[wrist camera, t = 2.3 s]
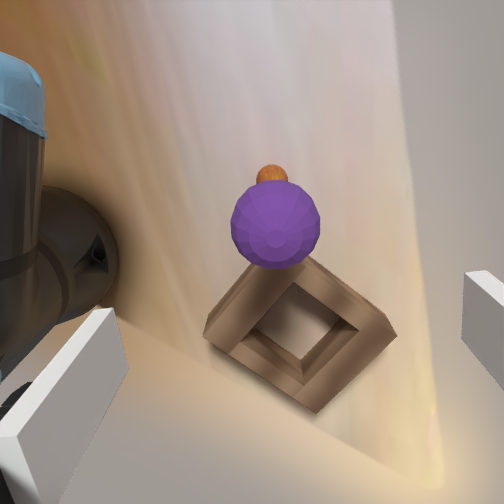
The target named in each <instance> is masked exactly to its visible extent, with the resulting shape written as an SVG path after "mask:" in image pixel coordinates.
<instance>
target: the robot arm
mask: <svg viewBox="0 0 504 504" xmlns="http://www.w3.org/2000/svg"><path fill="white" fill-rule="evenodd" d="M45 139H48V133H47V131H46V130H45V88H44V84H43V81H42V79H41V77H40V76H39V74H38V73H37V72H36V70H35V69H34V68H32V67H31V66H30V65H29V64H28V63H26V62H24V61H23V60H20V59H18V58H16V57H13V56H11V55H8V54H6V53H3V52H0V384H1V382H2V381H3V380H4V379H5V378H6V377H7V376H8V375H9V374H10V373H11V372H12V371H13V370H14V369H15V368H16V366H17V365H18V364H19V363H20V362H21V361H22V360H23V359H24V358H25V357H26V356H27V355H28V354H29V353H30V351H31V350H32V349H33V348H34V347H35V346H36V345H37V344H38V343H39V342H40V341H41V340H42V339H43V337H44V336H45V335H46V334H47V333H48V332H49V331H50V330H51V329H52V328H53V327H54V326H55V325H58V324H60V323H63V322H66V321H68V320H71V319H74V318H76V317H78V316H81V315H83V314H85V313H86V312H88V311H89V310H91V309H92V308H93V307H95V306H96V305H97V304H98V303H99V302H100V301H101V299H102V298H103V297H104V296H105V295H106V293H107V292H108V291H109V289H110V288H111V286H112V284H113V282H114V280H115V277H116V273H117V267H118V253H117V247H116V243H115V240H114V237H113V235H112V233H111V230H110V229H109V227H108V225H107V223H106V222H105V221H104V219H103V218H102V217H101V215H100V214H99V213H98V212H97V211H96V210H95V209H94V208H93V207H92V206H91V205H90V204H88V203H87V202H86V201H84V200H83V199H81V198H80V197H78V196H76V195H74V194H72V193H70V192H68V191H65V190H62V189H59V188H55V187H50V186H42V181H43V165H44V149H45ZM461 339H462V340H463V341H464V343H465V344H466V345H467V346H468V347H469V349H470V350H471V351H472V352H473V354H474V355H475V356H476V357H477V358H478V360H479V361H480V362H481V363H482V365H483V366H484V367H485V368H486V369H487V371H488V372H489V373H490V374H491V376H492V377H493V378H494V379H495V380H496V382H497V383H498V384H499V385H500V387H501V388H502V389H503V390H504V284H503V283H502V282H501V281H499V280H498V279H496V278H495V277H494V276H493V275H491V274H490V273H489V272H488V271H475V272H466V273H464V290H463V315H462V338H461ZM128 369H129V366H128V362H127V358H126V355H125V351H124V347H123V344H122V339H121V336H120V332H119V328H118V324H117V321H116V316H115V312H114V309H113V308H105V309H95V310H93V312H92V313H91V314H90V315H89V316H88V317H87V319H86V320H85V321H84V322H83V323H82V325H81V326H80V327H79V328H78V329H77V331H76V332H75V333H74V334H73V335H72V336H71V338H70V339H69V340H68V341H67V342H66V344H65V345H64V346H63V347H62V349H61V350H60V351H59V352H58V353H57V354H56V355H55V357H54V358H53V359H52V360H51V362H50V363H49V364H48V365H47V366H46V368H45V369H44V370H43V371H42V372H41V373H40V375H39V376H38V377H37V378H36V379H35V381H34V382H27V383H26V384H24V385H23V386H21V387H20V388H19V389H17V390H16V391H14V392H13V393H12V394H11V395H10V396H9V397H8V398H7V399H6V401H5V402H4V403H3V404H2V407H0V504H58V503H59V501H60V499H61V497H62V496H63V494H64V492H65V490H66V488H67V486H68V484H69V482H70V480H71V478H72V476H73V475H74V472H75V471H76V469H77V467H78V465H79V463H80V461H81V459H82V457H83V455H84V454H85V451H86V450H87V448H88V446H89V444H90V442H91V440H92V438H93V436H94V434H95V432H96V430H97V429H98V427H99V425H100V423H101V421H102V419H103V417H104V415H105V413H106V411H107V410H108V408H109V406H110V404H111V402H112V400H113V398H114V396H115V394H116V392H117V390H118V388H119V387H120V385H121V383H122V381H123V379H124V377H125V375H126V373H127V371H128Z"/></svg>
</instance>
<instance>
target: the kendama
mask: <svg viewBox="0 0 504 504" xmlns="http://www.w3.org/2000/svg"><path fill="white" fill-rule="evenodd" d="M256 182H257V184H256V185H254V186H252V187H250V188H248V190H247V191H246V192H245V193H244V194H243V195H242V196H241V197H240V198H239V199H238V200H237V203H236V206H235V209H234V212H233V215H232V218H231V235H232V239H233V241H234V243H235V245H236V247H237V249H238V251H239V253H240V254H241V255H243V256H244V257H245V258H246V259H247V260H248V261H250V262H251V263H252V264H255V265H257V266H260V267H263V268H266V269H285V268H288V267H290V266H293V265H295V264H297V263H300V262H301V261H302V260H304V259H305V258H306V257H307V256H308V255H309V254H310V253H311V252H312V251H313V249H314V247H315V245H316V242H317V240H318V238H319V236H320V216H319V214H318V211H317V209H316V207H315V204H314V202H313V200H312V198H311V197H310V196H309V195H308V194H307V193H306V192H305V191H304V190H303V189H302V188H301V187H300V186H298V185H295V184H293V183H290V182H288V177H287V174H286V172H285V171H284V170H283V169H282V168H281V167H279V166H276V165H268V166H265V167H263V168H262V169H261V170H260V171H259V172H258V175H257V178H256Z"/></svg>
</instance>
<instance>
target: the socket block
mask: <svg viewBox="0 0 504 504" xmlns="http://www.w3.org/2000/svg"><path fill="white" fill-rule="evenodd" d="M293 282H295V283H296V284H297V285H299V286H300V287H301V288H303V289H304V290H305V291H307V292H308V293H309V294H311V295H312V296H313V297H315V298H316V299H317V300H319V301H320V302H322V303H323V304H324V305H326V306H327V307H328V308H330V309H331V310H332V311H334V312H335V313H336V314H338V315H339V316H340V317H342V318H341V319H340V320H339V321H338V322H337V323H336V324H335V325H334V327H333V328H332V329H331V330H330V331H329V332H328V333H327V334H326V335H325V336H324V337H323V338H322V339H321V340H320V341H319V342H318V343H317V344H316V345H315V346H314V347H313V348H312V349H311V350H310V351H309V352H308V353H307V354H306V355H305V356H304V357H303V358H302V360H300V359H298V358H297V357H295V356H294V355H292V354H291V353H290V352H288V351H287V350H285V349H284V348H282V347H281V346H280V345H278V344H277V343H275V342H274V341H272V340H271V339H270V338H268V337H267V336H265V335H264V334H262V333H261V332H260V331H258V330H257V329H255V328H254V327H253V326H254V325H255V324H256V323H257V322H258V321H259V320H260V319H261V317H262V316H263V315H264V314H265V313H266V312H267V311H268V310H269V309H270V307H271V306H272V305H273V304H274V303H275V302H276V301H277V300H278V298H279V297H280V296H281V295H282V294H283V293H284V292H285V291H286V289H287V288H288V287H289V286H290V285H291V284H292V283H293ZM203 337H204V338H205V339H207V340H208V341H210V342H211V343H213V344H214V345H216V346H217V347H218V348H220V349H221V350H223V351H224V352H226V353H227V354H229V355H230V356H232V357H233V358H235V359H236V360H238V361H239V362H241V363H242V364H244V365H245V366H246V367H248V368H249V369H251V370H252V371H254V372H255V373H257V374H258V375H260V376H261V377H263V378H264V379H266V380H267V381H269V382H270V383H272V384H273V385H275V386H276V387H277V388H279V389H280V390H282V391H283V392H285V393H286V394H288V395H289V396H291V397H292V398H294V399H295V400H297V401H298V402H300V403H301V404H303V405H304V406H306V407H307V408H308V409H310V410H311V411H313V412H314V413H316V414H317V413H318V412H319V411H320V410H321V409H322V408H323V407H324V406H325V405H326V404H327V403H328V402H329V401H330V400H331V399H332V398H333V397H334V396H335V395H337V394H338V393H339V392H340V391H341V390H342V389H343V388H344V387H345V386H346V385H347V384H348V383H349V382H350V381H351V380H352V379H353V378H354V377H355V376H356V375H357V374H358V373H359V372H360V371H362V370H363V369H364V368H365V367H366V366H367V365H368V364H369V363H370V362H371V361H372V360H373V359H374V358H375V357H376V356H377V355H378V354H379V353H380V352H381V351H382V350H383V349H384V348H385V347H386V346H388V345H389V344H390V343H391V342H392V341H393V340H394V339H395V338H396V337H397V335H396V333H395V331H394V329H393V327H392V326H391V324H390V322H389V320H388V318H387V317H386V315H385V313H383V312H382V311H381V310H379V309H378V308H377V307H375V306H374V305H373V304H371V303H370V302H369V301H368V300H366V299H365V298H364V297H362V296H361V295H360V294H358V293H357V292H356V291H354V290H353V289H352V288H351V287H349V286H348V285H347V284H345V283H344V282H343V281H341V280H340V279H339V278H337V277H336V276H335V275H333V274H332V273H331V272H330V271H328V270H327V269H326V268H324V267H323V266H322V265H320V264H319V263H318V262H316V261H315V260H314V259H313V258H311V257H310V256H309V255H308V256H307V257H306V258H305V259H304V260H302V261H301V262H300V263H297V264H295V265H293V266H290V267H288V268H285V269H266V268H263V267H260V266H257V265H255V264H252V263H251V264H250V266H249V267H248V268H247V269H246V270H245V272H244V273H243V274H242V275H241V276H240V278H239V279H238V280H237V281H236V282H235V284H234V285H233V286H232V287H231V288H230V290H229V291H228V292H227V293H226V294H225V295H224V297H223V298H222V299H221V300H220V301H219V303H218V304H217V305H216V306H215V307H214V309H213V310H212V311H211V312H210V313H209V315H208V318H207V322H206V326H205V329H204V333H203Z"/></svg>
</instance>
